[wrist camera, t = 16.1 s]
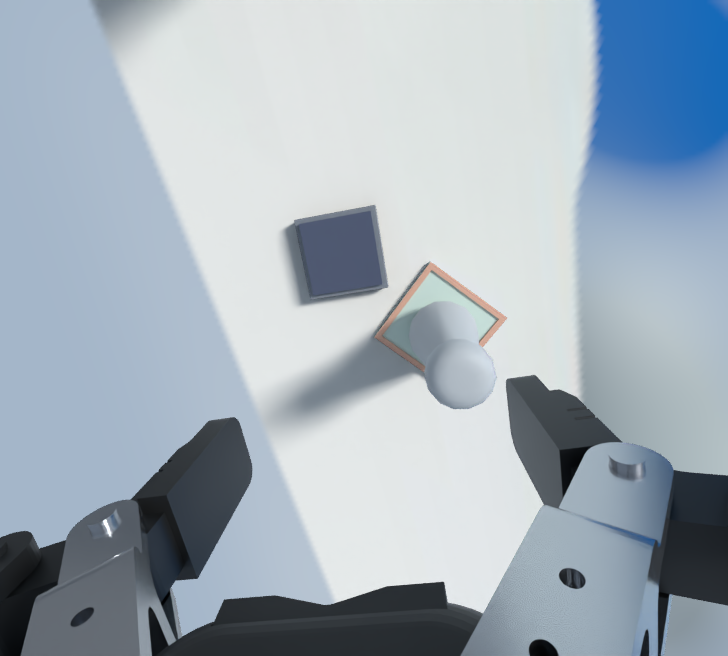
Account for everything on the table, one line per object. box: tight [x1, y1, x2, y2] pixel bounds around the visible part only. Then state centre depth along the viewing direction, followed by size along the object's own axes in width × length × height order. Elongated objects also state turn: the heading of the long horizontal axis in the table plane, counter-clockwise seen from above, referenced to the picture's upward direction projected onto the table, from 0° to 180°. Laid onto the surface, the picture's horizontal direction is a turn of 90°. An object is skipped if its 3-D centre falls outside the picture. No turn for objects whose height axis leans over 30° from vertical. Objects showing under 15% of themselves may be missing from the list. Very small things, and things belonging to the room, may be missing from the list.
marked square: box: [374, 262, 507, 372], centre depth 36 cm, size 8×8×1 cm
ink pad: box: [294, 205, 388, 300], centre depth 34 cm, size 7×7×2 cm
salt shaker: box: [409, 301, 497, 409], centre depth 29 cm, size 6×6×13 cm
